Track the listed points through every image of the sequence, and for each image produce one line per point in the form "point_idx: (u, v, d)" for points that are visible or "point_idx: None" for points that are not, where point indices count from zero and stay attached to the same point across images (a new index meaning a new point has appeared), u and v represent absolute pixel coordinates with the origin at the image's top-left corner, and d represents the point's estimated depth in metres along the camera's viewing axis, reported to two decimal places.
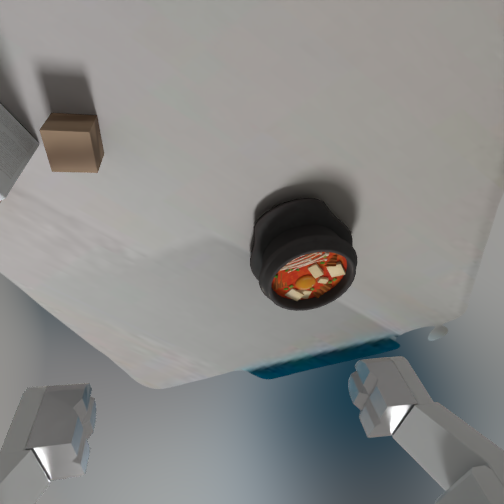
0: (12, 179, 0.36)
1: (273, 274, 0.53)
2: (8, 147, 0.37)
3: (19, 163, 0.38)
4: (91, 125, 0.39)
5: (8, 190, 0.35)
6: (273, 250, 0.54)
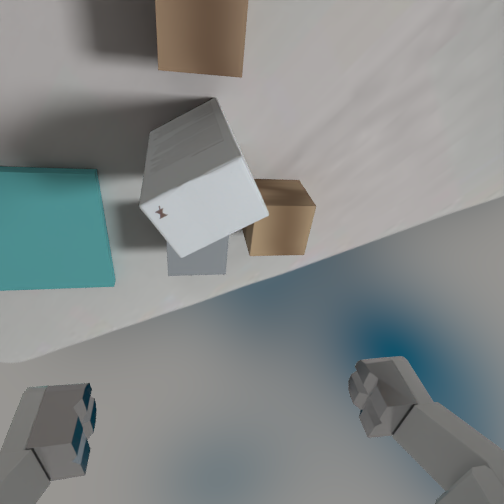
0: (225, 138, 0.19)
1: None
2: (191, 133, 0.22)
3: (215, 124, 0.21)
4: None
5: (234, 148, 0.18)
6: None
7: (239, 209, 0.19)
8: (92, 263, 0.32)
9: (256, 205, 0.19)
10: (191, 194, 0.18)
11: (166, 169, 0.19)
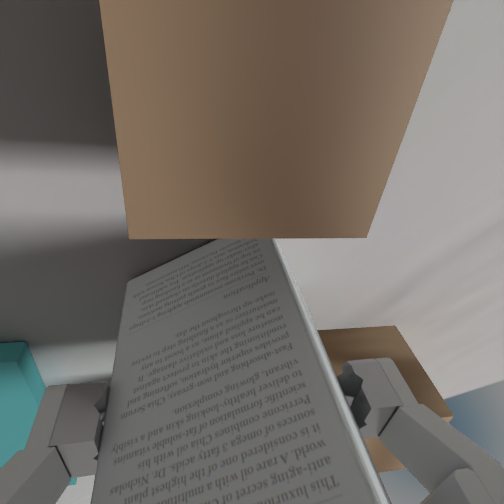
0: None
1: None
2: (220, 361, 0.09)
3: (289, 361, 0.08)
4: None
5: None
6: None
7: None
8: None
9: None
10: None
11: None
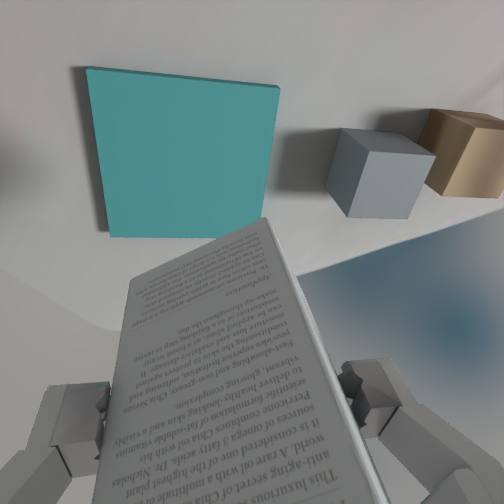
0: (352, 501, 0.06)
1: None
2: (221, 357, 0.09)
3: (290, 358, 0.08)
4: None
5: None
6: None
7: None
8: (242, 207, 0.28)
9: None
10: None
11: None
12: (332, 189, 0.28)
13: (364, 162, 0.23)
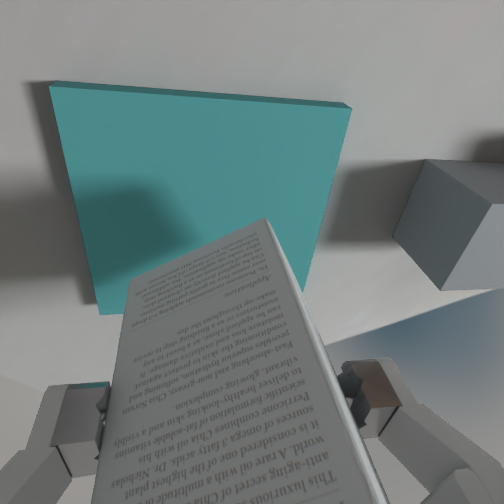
0: (351, 502, 0.06)
1: None
2: (221, 358, 0.09)
3: (289, 359, 0.08)
4: None
5: None
6: None
7: None
8: None
9: None
10: None
11: None
12: (407, 241, 0.20)
13: (478, 219, 0.15)
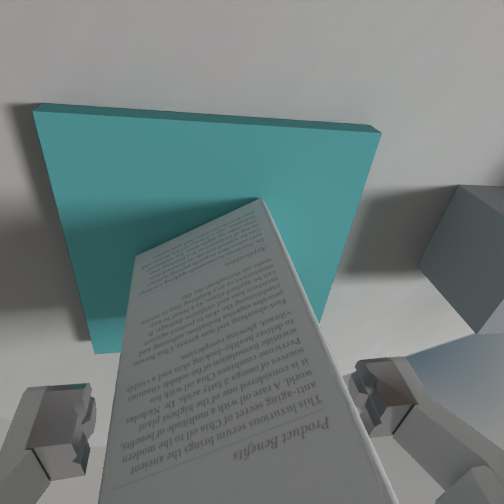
0: (335, 417, 0.07)
1: None
2: (222, 316, 0.10)
3: (283, 312, 0.09)
4: None
5: None
6: None
7: None
8: None
9: None
10: None
11: (162, 484, 0.07)
12: (435, 274, 0.18)
13: None
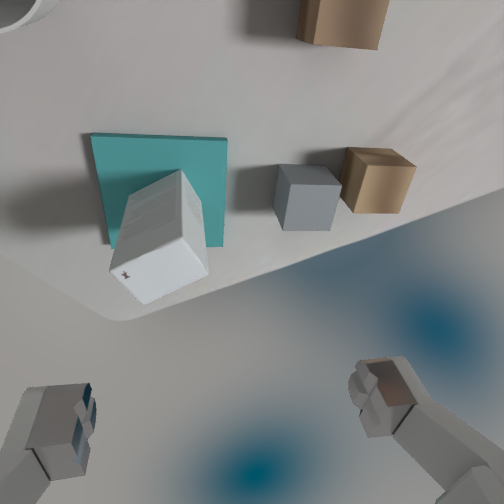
0: (176, 217, 0.25)
1: None
2: (156, 205, 0.29)
3: (173, 200, 0.28)
4: None
5: (179, 228, 0.24)
6: None
7: (185, 271, 0.25)
8: (209, 224, 0.37)
9: (197, 268, 0.25)
10: (147, 262, 0.24)
11: (132, 238, 0.26)
12: (275, 208, 0.36)
13: (288, 192, 0.32)
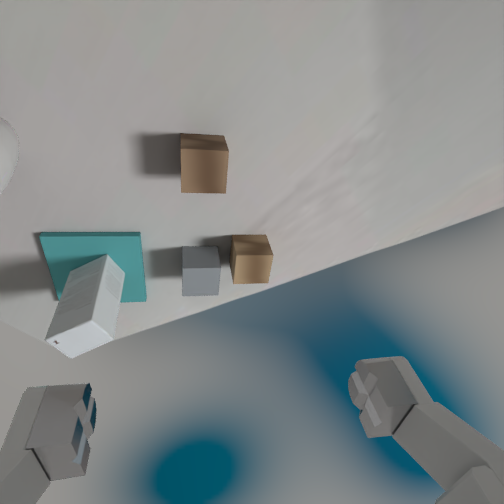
0: (92, 302, 0.39)
1: None
2: (83, 286, 0.42)
3: (94, 285, 0.41)
4: None
5: (91, 312, 0.37)
6: None
7: (96, 338, 0.38)
8: (133, 287, 0.50)
9: (105, 336, 0.38)
10: (69, 334, 0.37)
11: (63, 315, 0.39)
12: None
13: (182, 272, 0.45)
